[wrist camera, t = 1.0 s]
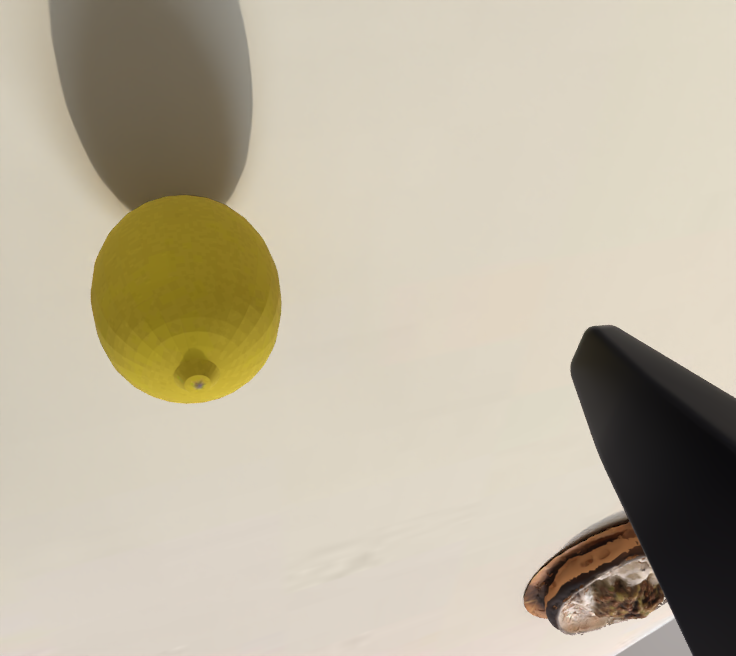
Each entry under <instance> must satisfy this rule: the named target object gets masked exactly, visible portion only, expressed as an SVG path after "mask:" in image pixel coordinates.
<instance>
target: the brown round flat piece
mask: <svg viewBox="0 0 736 656" xmlns="http://www.w3.org/2000/svg"><path fill="white" fill-rule="evenodd" d="M607 529H608V528H607ZM607 529H606V531H604V532H602V531H601V532H602V533H600V534H598V535H594V536H591V537H590V538H588V539H587V540H586V541H584V542H583V541H582V542H581V543H579V544H578V545H576V546H574V547H572V548H570V549H568V550H567V551H565V552H564V553H563V554H561V555H559V556H557V557H555V558H554V559H553V560H552V561H551V562H550V563H549V564H547V566H545V567H543V568H542V569H541V570H540V571H539V572H538V574H536V575H535V577H534V578H533V579H532V581H531V582H530V584H529V586H528V588H527V590H526V593H525V595H524V605H525V607H526V609H527V610H528V611H529V612H530V613H531V614H532V615H534V616H537V617H539V618H544V619H545V618H546V619H547V618H548V619H549V621H550V622H551V624H552V625H553V626H554V627H555V628H557V629H558V630H560V631H561V632H563V633H564V634H570V635H575V634H576V633H578V634H580V633H586V632H589V631H593V630H598V629H600V628H602V627H606V624H607V623H608V624H609V625H611V624H614V623H619V622H622V621H628V620H627V619H637V618H641V619H642V618H645V617H647V615H648V614H649V613H651V612H652V611H654V610H656V609H658V608H659V607H660V606H658V605H659V604H660V605H664V604H665V603H666V602H667V600H666V599H665V600H664V597H665V595H664V593H663V591H662V589H661V587H660V585H659V583H658V580H657V578H656V576H655V574H654V572H653V570H652V568H651V566H650V563H649V561H648V559H647V557H646V555H645V553H644V551H643V549H642V546H641V544H640V542H639V540H638V538H637V536H636V534H635V532H634V529H633V527H632V525H631V523H630V522H628V523H627V524H625V525H620V526H618V527H614V528H613V527H612V528H611V529H610V528H609V530H607ZM663 600H664V602H663ZM661 602H663V604H662V603H661ZM610 623H611V624H610ZM608 624H607V625H608ZM581 635H583V634H581Z"/></svg>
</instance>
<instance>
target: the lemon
mask: <svg viewBox="0 0 736 656" xmlns="http://www.w3.org/2000/svg"><path fill="white" fill-rule="evenodd" d="M91 305H92V311H93V316H94V321H95V326H96V330H97V334H98V337H99V340H100V342H101V344H102V347H103V349H104V351H105V352H106V354H107V356H108V358H109V359H110V361H111V363H112V364H113V366H114V367H115V369H116V370H117V371H118V372H119V373H120V374H121V375H122V376H123V377H124V378H125V379H126V380H127V381H128V382H130V383H131V384H132V385H133V386H134V387H136V388H137V389H139V390H141V391H143V392H145V393H147V394H148V395H150V396H153V397H156V398H159V399H162V400H166V401H169V402H176V403H186V404H187V403H202V402H207V401H211V400H215V399H219V398H221V397H224V396H226V395H228V394H231V393H233V392H234V391H236V390H237V389H239V388H240V387H242V386H243V385H244V384H246V383H247V382H249V381H250V380H251V379H252V378H253V377H254V376H255V375H256V374H257V373H258V371H259V370H260V369H261V368H262V367H263V365H264V364H265V362H266V361H267V359H268V357H269V355H270V353H271V351H272V349H273V347H274V344H275V342H276V337H277V332H278V327H279V322H280V316H281V293H280V285H279V278H278V272H277V269H276V266H275V263H274V261H273V259H272V257H271V254H270V252H269V250H268V248H267V246H266V244H265V242H264V240H263V238H262V237H261V236H260V235H259V233H258V232H257V231H256V230H255V229H254V228H253V227H252V225H251V224H250V223H249V222H248V221H247V220H246V219H245V218H244V217H243V216H241V215H240V214H238V213H237V212H235V211H234V210H232V209H231V208H229V207H228V206H226V205H224V204H222V203H219V202H217V201H214V200H211V199H209V198H205V197H198V196H191V195H178V196H166V197H162V198H159V199H156V200H152V201H149V202H146V203H144V204H143V205H141V206H139V207H138V208H136V209H134V210H133V211H131V212H129V213H128V214H127V215H126V216H125V217H124V218H123V219H122V220H121V221H120V222H119V223H118V224H117V225H116V226H115V227H114V228H113V229H112V230H111V232H110V233H109V234H108V236H107V238H106V240H105V242H104V244H103V246H102V248H101V250H100V252H99V254H98V256H97V258H96V262H95V266H94V273H93V280H92V287H91Z"/></svg>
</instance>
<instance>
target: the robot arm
mask: <svg viewBox="0 0 736 656" xmlns="http://www.w3.org/2000/svg"><path fill="white" fill-rule="evenodd" d="M571 377H572V380H573V383H574V386H575V389H576V391H577V394H578V397H579V400H580V403H581V406H582V409H583V412H584V414H585V417H586V420H587V423H588V426H589V429H590V432H591V435H592V438H593V440H594V443H595V446H596V449H597V451H598V454H599V456H600V459H601V461H602V463H603V465H604V468H605V470H606V472H607V474H608V476H609V478H610V481H611V483H612V485H613V487H614V489H615V491H616V493H617V495H618V498H619V500H620V502H621V504H622V506H623V508H624V510H625V512H626V515H627V517H628V519H629V521H630V523H631V525H632V527H633V529H634V532H635V534H636V536H637V538H638V540H639V542H640V544H641V546H642V549H643V551H644V553H645V555H646V557H647V559H648V561H649V563H650V566H651V568H652V570H653V572H654V574H655V576H656V578H657V580H658V583H659V585H660V587H661V589H662V591H663V593H664V595H665V597H666V600H667V602H668V604H669V606H670V608H671V610H672V612H673V614H674V617H675V619H676V621H677V623H678V625H679V627H680V629H681V631H682V634H683V636H684V638H685V640H686V642H687V644H688V646H689V648H690V650H691V653H692V655H693V656H736V398H734V397H733V396H731V395H729V394H728V393H726V392H724V391H723V390H721V389H719V388H718V387H716V386H714V385H713V384H711V383H709V382H708V381H706V380H704V379H703V378H701V377H699V376H698V375H696V374H694V373H693V372H691V371H689V370H688V369H686V368H684V367H683V366H681V365H679V364H678V363H676V362H674V361H673V360H671V359H669V358H668V357H666V356H664V355H663V354H661V353H659V352H658V351H656V350H654V349H653V348H651V347H649V346H648V345H646V344H644V343H643V342H641V341H639V340H638V339H636V338H634V337H633V336H631V335H629V334H628V333H626V332H624V331H623V330H621V329H619V328H618V327H616V326H613V325H602V326H592V327H589V328H588V329H587V330H586V331H585V333H584V334H583V337H582V339H581V341H580V343H579V346H578V348H577V350H576V352H575V355H574V357H573V359H572V362H571Z"/></svg>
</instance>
